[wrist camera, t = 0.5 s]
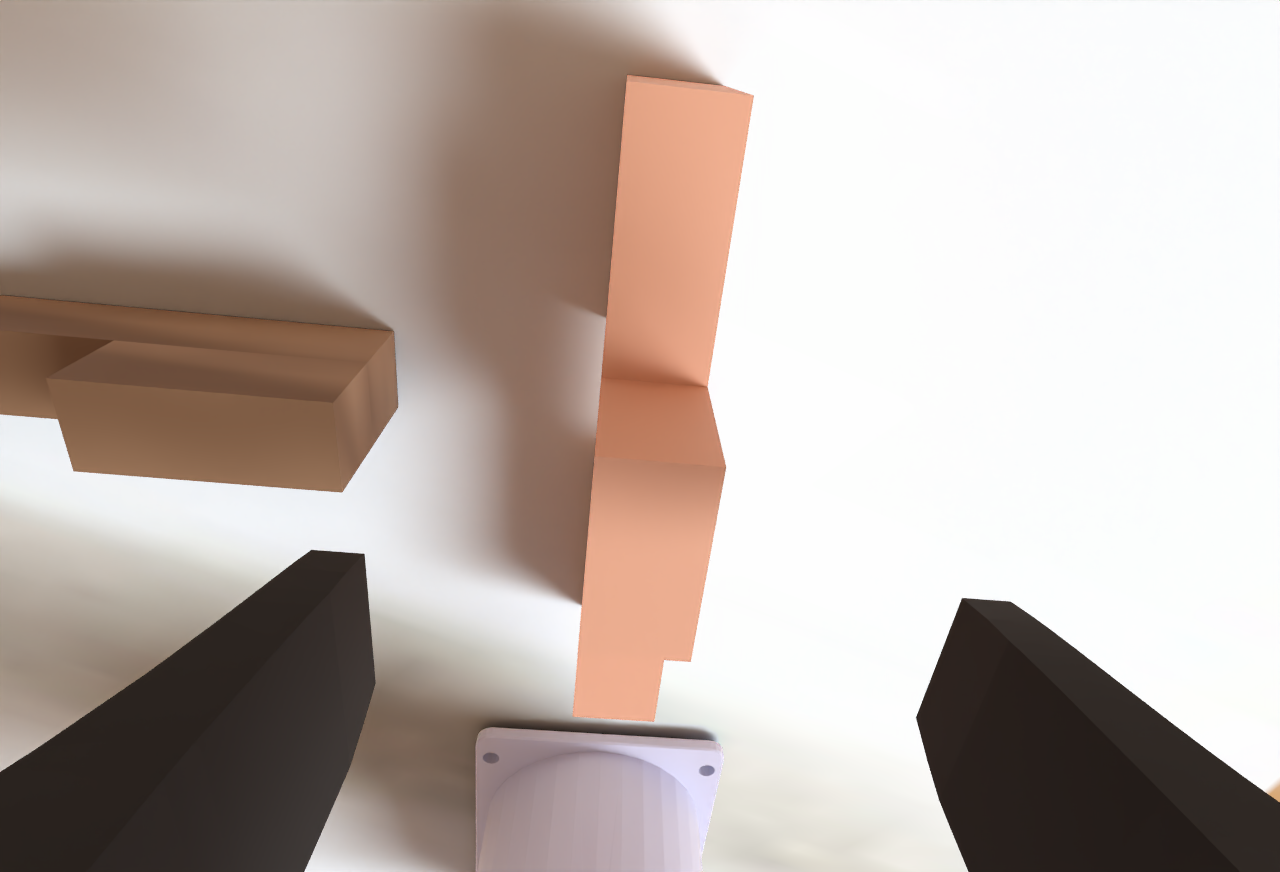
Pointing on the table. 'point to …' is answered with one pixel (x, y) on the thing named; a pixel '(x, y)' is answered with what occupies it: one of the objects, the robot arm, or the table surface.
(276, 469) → the walnut notched bar
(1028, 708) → the robot arm
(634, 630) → the salmon stepped block
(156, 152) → the table surface
